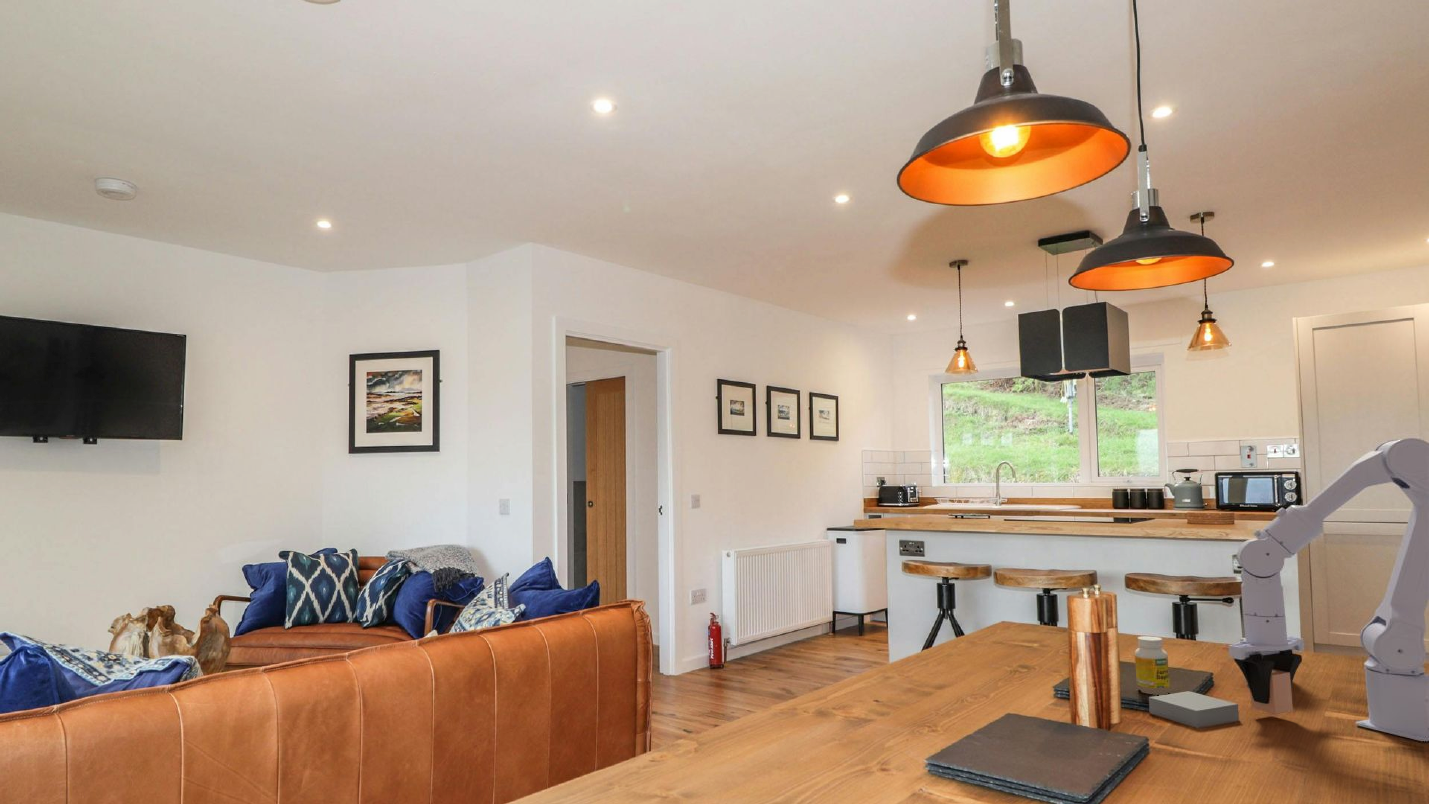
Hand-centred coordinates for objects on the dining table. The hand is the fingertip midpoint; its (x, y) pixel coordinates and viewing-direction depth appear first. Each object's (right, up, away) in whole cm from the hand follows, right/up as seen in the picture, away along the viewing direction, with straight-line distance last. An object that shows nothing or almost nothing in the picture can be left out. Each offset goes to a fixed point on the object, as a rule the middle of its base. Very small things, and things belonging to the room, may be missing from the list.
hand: (1271, 700), depth 136 cm
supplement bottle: (-10, -5, +17) cm, 20 cm away
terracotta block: (0, -1, 0) cm, 1 cm away
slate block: (-11, -4, +2) cm, 12 cm away
